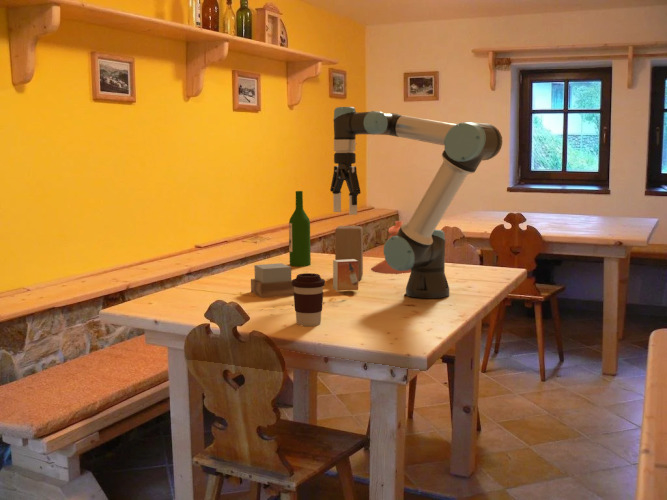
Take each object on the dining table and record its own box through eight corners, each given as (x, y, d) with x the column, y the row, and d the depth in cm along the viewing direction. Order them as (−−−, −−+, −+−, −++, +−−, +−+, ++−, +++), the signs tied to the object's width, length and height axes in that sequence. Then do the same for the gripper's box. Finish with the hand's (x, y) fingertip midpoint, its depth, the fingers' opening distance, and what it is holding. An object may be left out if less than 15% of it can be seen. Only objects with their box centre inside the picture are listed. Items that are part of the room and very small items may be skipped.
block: (362, 276, 290) (362, 225, 287) (361, 280, 280) (361, 228, 278) (337, 276, 291) (337, 225, 288) (335, 280, 281) (334, 228, 279)
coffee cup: (324, 320, 227) (324, 272, 225) (325, 327, 217) (325, 277, 215) (292, 320, 227) (292, 272, 224) (291, 328, 217) (291, 277, 215)
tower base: (295, 295, 252) (294, 281, 252) (261, 298, 248) (261, 284, 247) (283, 290, 263) (283, 276, 263) (251, 293, 259) (250, 278, 258)
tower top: (291, 281, 252) (291, 267, 251) (263, 283, 248) (263, 268, 247) (281, 277, 261) (281, 263, 260) (254, 279, 257) (254, 265, 257)
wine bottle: (287, 266, 317) (286, 190, 313) (307, 265, 320) (306, 190, 316) (292, 269, 309) (291, 191, 305) (313, 268, 312) (312, 191, 308)
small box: (337, 291, 258) (336, 261, 257) (332, 288, 264) (332, 259, 262) (358, 290, 260) (358, 260, 259) (354, 287, 266) (354, 258, 264)
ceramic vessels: (416, 275, 291) (416, 228, 288) (363, 274, 295) (363, 227, 293) (424, 263, 325) (424, 220, 322) (377, 262, 329) (376, 220, 327)
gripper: (370, 152, 246) (370, 215, 249) (340, 152, 269) (340, 210, 272) (349, 152, 243) (350, 216, 246) (321, 152, 266) (321, 211, 269)
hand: (345, 213), depth 259 cm, fingers open, 13 cm apart
